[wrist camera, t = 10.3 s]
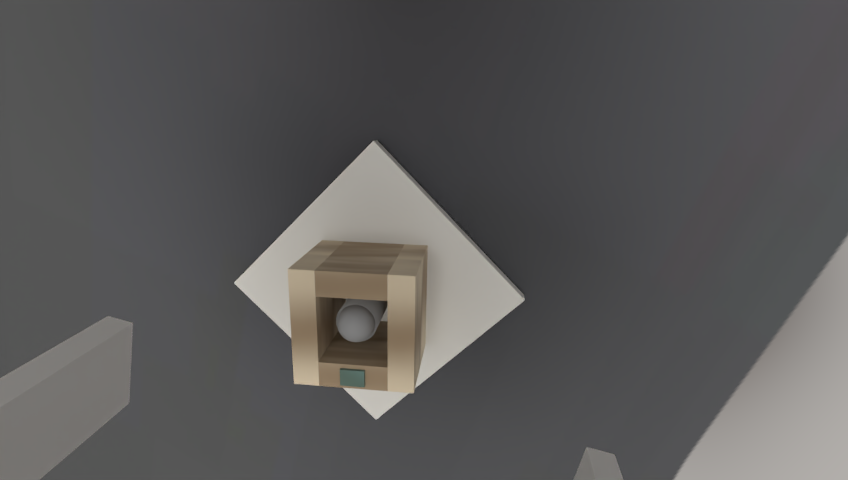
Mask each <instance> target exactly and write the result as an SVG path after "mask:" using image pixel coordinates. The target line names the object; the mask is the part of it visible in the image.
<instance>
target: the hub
mask: <svg viewBox="0 0 848 480" xmlns="http://www.w3.org/2000/svg"><path fill="white" fill-rule="evenodd" d="M322 240H328V241H348V242H368V243H388V244H409V245H428V253H427V300H426V344H425V349H424V353H423V357H422V361H421V365H420V369H419V374H418V378H417V382H416V386H415V388H416V387H417V386H419V385H420V384H421V383H422V382H424V381H425V380H426V379H427V378H429V377H430V376H431V375H432V374H434V373H435V372H436V371H437V370H439V369H440V368H441V367H442V366H443V365H445V364H446V363H447V362H448V361H450V360H451V359H452V358H453V357H455V356H456V355H457V354H458V353H460V352H461V351H462V350H463V349H465V348H466V347H467V346H468V345H470V344H471V343H472V342H473V341H475V340H476V339H477V338H478V337H480V336H481V335H482V334H483V333H485V332H486V331H487V330H488V329H490V328H491V327H492V326H493V325H495V324H496V323H497V322H498V321H500V320H501V319H502V318H503V317H504V316H506V315H507V314H508V313H509V312H511V311H512V310H513V309H514V308H516V307H517V306H518V305H519V304H521V303H522V302H523V301H524V300H525V298H524V294H523V293H522V292H521V291H520V290H519V289H518V288H517V287H516V286H515V285H514V284H513V283H512V282H511V281H510V279H509V278H508V277H507V276H506V275H505V274H504V273H503V272H502V271H501V270H500V269H499V268H498V267H497V266H496V265H495V264H494V263H493V262H492V261H491V259H490V258H489V257H488V256H487V255H486V254H485V253H484V252H483V251H482V250H481V249H480V248H479V247H478V246H477V245H476V244H475V243H474V242H473V240H472V239H471V238H470V237H469V236H468V235H467V234H466V233H465V232H464V231H463V230H462V229H461V228H460V227H459V226H458V225H457V224H456V223H455V222H454V220H453V219H452V218H451V217H450V216H449V215H448V214H447V213H446V212H445V211H444V210H443V209H442V208H441V207H440V206H439V205H438V204H437V203H436V202H435V200H434V199H433V198H432V197H431V196H430V195H429V194H428V193H427V192H426V191H425V190H424V189H423V188H422V187H421V186H420V185H419V184H418V183H417V182H416V180H415V179H414V178H413V177H412V176H411V175H410V174H409V173H408V172H407V171H406V170H405V169H404V168H403V167H402V166H401V165H400V164H399V163H398V162H397V160H396V159H395V158H394V157H393V156H392V155H391V154H390V153H389V152H388V151H387V150H386V149H385V148H384V147H383V146H382V145H381V144H380V143H379V142H378V140H374V141H373V142H372V143H371V144H370V145H369V146H368V147H367V148H366V149H365V150H364V151H363V152H362V153H361V154H360V155H359V156H358V157H357V158H356V159H355V160H354V161H353V162H352V163H351V164H350V165H349V166H348V167H347V168H346V169H345V170H344V171H343V172H342V173H341V174H340V175H339V176H338V177H337V178H336V179H335V180H334V181H333V182H332V183H331V184H330V185H329V186H328V188H327V189H326V190H325V191H324V192H323V193H322V194H321V195H320V196H319V197H318V198H317V199H316V200H315V201H314V202H313V203H312V204H311V205H310V206H309V207H308V208H307V209H306V210H305V211H304V212H303V213H302V214H301V215H300V216H299V217H298V218H297V219H296V220H295V221H294V222H293V223H292V224H291V225H290V226H289V227H288V228H287V229H286V230H285V231H284V232H283V233H282V234H281V235H280V236H279V237H278V238H277V239H276V241H275V242H274V243H273V244H272V245H271V246H270V247H269V248H268V249H267V250H266V251H265V252H264V253H263V254H262V255H261V256H260V257H259V258H258V259H257V260H256V261H255V262H254V263H253V264H252V265H251V266H250V267H249V268H248V269H247V270H246V271H245V272H244V273H243V274H242V275H241V276H240V277H239V278H238V279H237V280H236V281H235V282H234V284H235V285H237V286H238V287H239V288H240V289H241V290H242V291H243V292H244V293H245V294H246V295H247V296H248V297H249V298H250V299H251V300H252V301H253V302H254V303H255V304H256V305H257V306H258V307H259V308H260V309H261V310H262V311H264V312H265V313H266V314H267V315H268V316H269V317H270V318H271V319H272V320H273V321H274V322H275V323H276V324H277V325H278V326H279V327H280V328H281V329H282V330H283V331H284V332H285V333H286V334H287V335H288V336H290V337H291V321H290V304H289V286H288V268H289V267H291V266H292V265H293V264H294V263H295V262H297V261H298V260H299V259H300V258H301V257H303V256H304V255H305V254H306V253H307V252H309V251H310V250H311V249H312V248H313V247H315V246H316V245H317V244H318V243H319V242H320V241H322ZM380 321H388V306H387V301H379V300H363V299H346V302H345V303H344V305H343V306H342V308H341V309H340V310H339V312H338V314H337V317H336V325H337V328H338V331H339V333H340V334H341V336H342V337H343V338H345V339H346V340H348V341H351V342H362V341H366V340H368V339H370V338H371V337H372V336H373V335H374V333H375V332H376V329H377V327H378V325H379V323H380ZM344 389H345V390H346V391H347V392H348V393H349V394H350V395H351V396H352V397H353V398H354V399H355V400H356V401H357V402H358V403H359V404H360V405H361V406H362V407H363V408H364V409H365V410H366V411H367V412H369V413H370V414H371V415H372V416H373V417H374V418H375V419H378V418H379V417H380V416H381V415H382V414H384V413H385V412H386V411H387V410H389V409H390V408H391V407H392V406H394V405H395V404H396V403H397V402H399V401H400V400H401V399H402V398H404V397H405V396H406V395H407V394H409V393H403V392H391V391H378V390H366V389H354V388H344Z"/></svg>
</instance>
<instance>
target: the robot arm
mask: <svg viewBox="0 0 848 480" xmlns="http://www.w3.org/2000/svg"><path fill="white" fill-rule="evenodd" d="M132 332H133V323H131V322H128V321H124V320H120V319H117V318H113V317H109V316H107V317H105V318H104V319H102V320H100V321H99V322H97V323H95V324H93V325H92V326H90V327H88V328H86V329H85V330H83V331H81V332H80V333H78V334H76V335H74V336H73V337H71V338H69V339H67V340H66V341H64V342H62V343H60V344H59V345H57V346H55V347H54V348H52V349H50V350H48V351H47V352H45V353H43V354H41V355H40V356H38V357H36V358H35V359H33V360H31V361H29V362H28V363H26V364H24V365H22V366H21V367H19V368H17V369H16V370H14V371H12V372H10V373H9V374H7V375H5V376H3V377H2V378H0V480H40V479H41V478H42V477H43V476H44V475H45V474H47V473H48V472H49V471H50V470H51V469H52V468H54V467H55V466H56V465H57V464H58V463H59V462H61V461H62V460H63V459H64V458H65V457H67V456H68V455H69V454H70V453H71V452H72V451H74V450H75V449H76V448H77V447H78V446H79V445H81V444H82V443H83V442H84V441H85V440H86V439H88V438H89V437H90V436H91V435H92V434H93V433H95V432H96V431H97V430H98V429H99V428H100V427H102V426H103V425H104V424H105V423H106V422H108V421H109V420H110V419H111V418H112V417H113V416H115V415H116V414H117V413H118V412H119V411H120V410H122V409H123V408H124V407H125V406H126V405H127V404H129V394H130V373H131V352H132ZM574 480H623V477H622V474H621V472H620V469H619V466H618V463H617V460H616V457H615V455H614V454H611V453H607V452H603V451H600V450H596V449H592V448H589V447H586V450H585V452H584V455H583V457H582V460H581V462H580V465H579V467H578V470H577V472H576V475H575V477H574Z"/></svg>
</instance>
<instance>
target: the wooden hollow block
mask: <svg viewBox="0 0 848 480" xmlns="http://www.w3.org/2000/svg"><path fill="white" fill-rule="evenodd" d="M427 253H428V245H409V244H388V243H368V242H348V241H328V240H322V241H320V242H319V243H318V244H317V245H316V246H315V247H313V248H312V249H311V250H310V251H309V252H307V253H306V254H305V255H304V256H303V257H301V258H300V259H299V260H298V261H297V262H295V263H294V264H293V265H292V266H291V267H289V268H288V286H289V304H290V321H291V339H292V356H293V374H294V384H304V385H317V386H329V387H341V388H354V389H366V390H378V391H391V392H403V393H414V390H415V386H416V382H417V378H418V374H419V369H420V365H421V361H422V357H423V353H424V349H425V344H426V300H427ZM346 299H363V300H379V301H387V306H388V321H380V323H379V325H378V327H377V329H376V332H375V333H374V335H373V336H372V337H371V338H370V339H368V340H366V341H362V342H351V341H348V340H346V339H345V338H343V337H342V336H341V334H340V333H339V331H338V328H337V325H336V317H337V314H338V312H339V310H340V309H341V308H342V306H343V305H344V303H345V302H346Z"/></svg>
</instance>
